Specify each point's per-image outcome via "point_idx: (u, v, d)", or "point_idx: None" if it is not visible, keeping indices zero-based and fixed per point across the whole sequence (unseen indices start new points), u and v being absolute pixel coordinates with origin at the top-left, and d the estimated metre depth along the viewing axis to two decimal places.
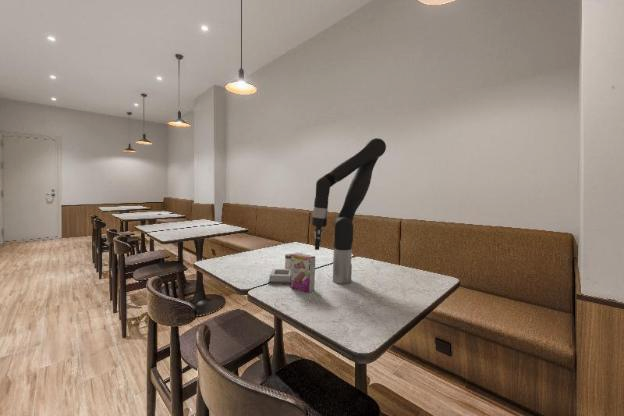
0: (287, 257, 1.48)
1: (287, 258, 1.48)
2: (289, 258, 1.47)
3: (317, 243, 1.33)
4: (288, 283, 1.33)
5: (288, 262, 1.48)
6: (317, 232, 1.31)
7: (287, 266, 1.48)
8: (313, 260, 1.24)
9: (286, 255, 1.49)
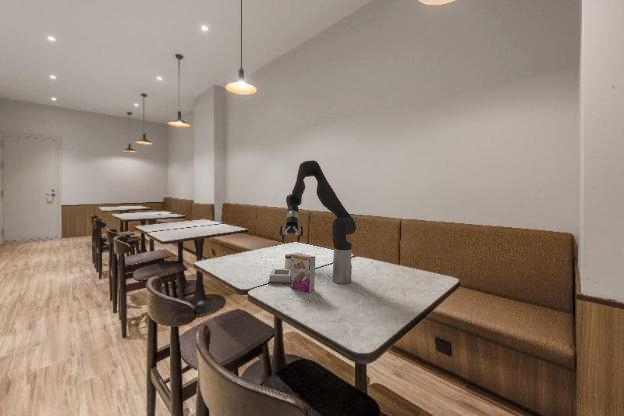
0: (287, 257, 1.48)
1: (287, 258, 1.48)
2: (289, 258, 1.47)
3: (282, 236, 1.63)
4: (288, 283, 1.33)
5: (288, 262, 1.48)
6: None
7: (287, 266, 1.48)
8: (313, 260, 1.24)
9: (286, 255, 1.49)
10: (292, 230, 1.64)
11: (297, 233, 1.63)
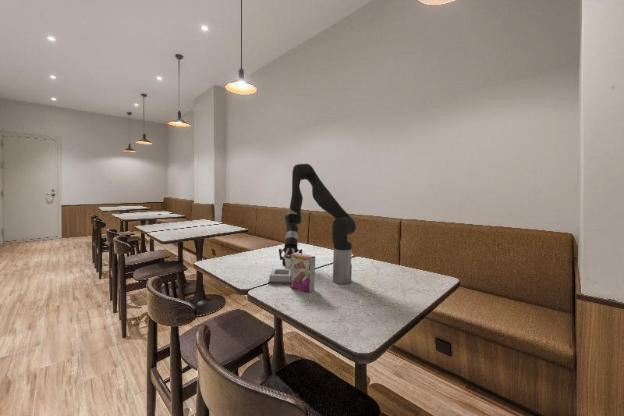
0: (287, 257, 1.48)
1: (287, 258, 1.48)
2: (289, 258, 1.47)
3: None
4: (288, 283, 1.33)
5: (288, 262, 1.48)
6: (279, 252, 1.55)
7: (287, 266, 1.48)
8: (313, 260, 1.24)
9: (286, 255, 1.49)
10: (290, 252, 1.53)
11: None
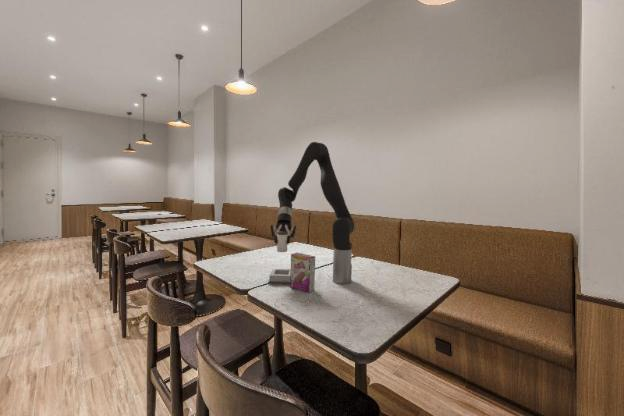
0: (279, 233, 1.35)
1: (279, 234, 1.35)
2: (282, 234, 1.34)
3: None
4: (288, 283, 1.33)
5: (280, 239, 1.35)
6: None
7: (279, 243, 1.35)
8: (313, 260, 1.24)
9: (278, 231, 1.36)
10: (283, 229, 1.40)
11: None
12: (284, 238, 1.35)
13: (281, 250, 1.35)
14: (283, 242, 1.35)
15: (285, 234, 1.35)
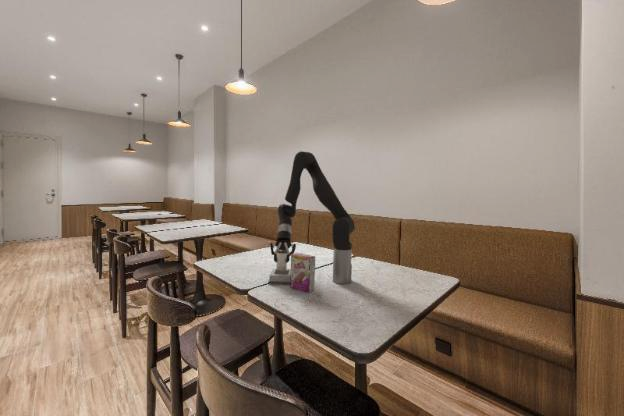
0: (279, 252, 1.35)
1: (279, 253, 1.35)
2: (281, 253, 1.35)
3: (274, 255, 1.38)
4: (288, 283, 1.33)
5: (280, 257, 1.35)
6: (270, 246, 1.42)
7: (279, 262, 1.36)
8: (313, 260, 1.24)
9: (278, 250, 1.37)
10: (282, 247, 1.41)
11: (287, 251, 1.39)
12: (283, 257, 1.36)
13: (280, 268, 1.36)
14: (282, 260, 1.36)
15: (284, 253, 1.36)
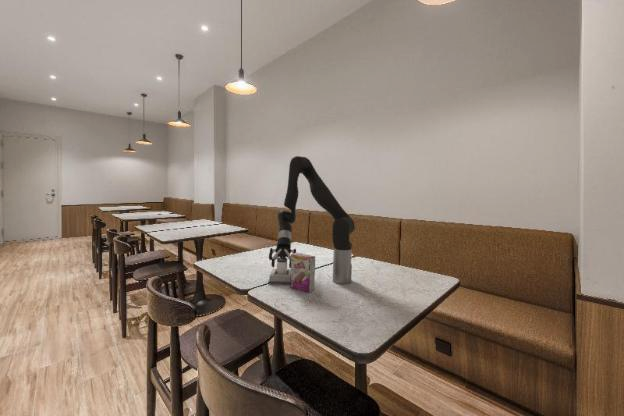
0: (279, 261, 1.36)
1: (279, 262, 1.36)
2: (281, 262, 1.36)
3: None
4: (288, 283, 1.33)
5: (280, 266, 1.36)
6: None
7: (279, 270, 1.36)
8: (313, 260, 1.24)
9: (278, 258, 1.37)
10: (283, 253, 1.41)
11: (289, 257, 1.39)
12: (284, 265, 1.36)
13: None
14: (283, 269, 1.36)
15: (285, 261, 1.36)
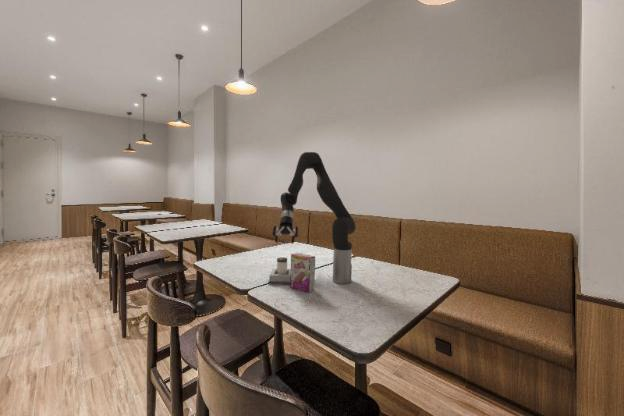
0: (279, 261, 1.36)
1: (279, 262, 1.36)
2: (281, 262, 1.36)
3: None
4: (288, 283, 1.33)
5: (280, 266, 1.36)
6: None
7: (279, 270, 1.36)
8: (313, 260, 1.24)
9: (278, 258, 1.37)
10: (286, 231, 1.53)
11: (291, 234, 1.51)
12: (284, 265, 1.36)
13: None
14: (283, 269, 1.36)
15: (285, 261, 1.36)
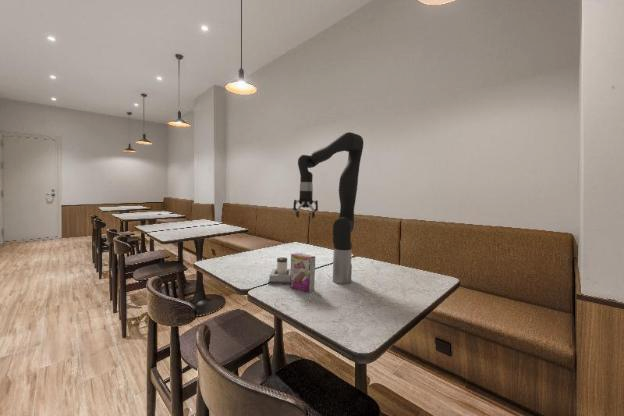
0: (279, 261, 1.36)
1: (279, 262, 1.36)
2: (281, 262, 1.36)
3: (296, 211, 1.57)
4: (288, 283, 1.33)
5: (280, 266, 1.36)
6: (294, 201, 1.57)
7: (279, 270, 1.36)
8: (313, 260, 1.24)
9: (278, 258, 1.37)
10: (306, 206, 1.56)
11: (312, 209, 1.56)
12: (284, 265, 1.36)
13: None
14: (283, 269, 1.36)
15: (285, 261, 1.36)
